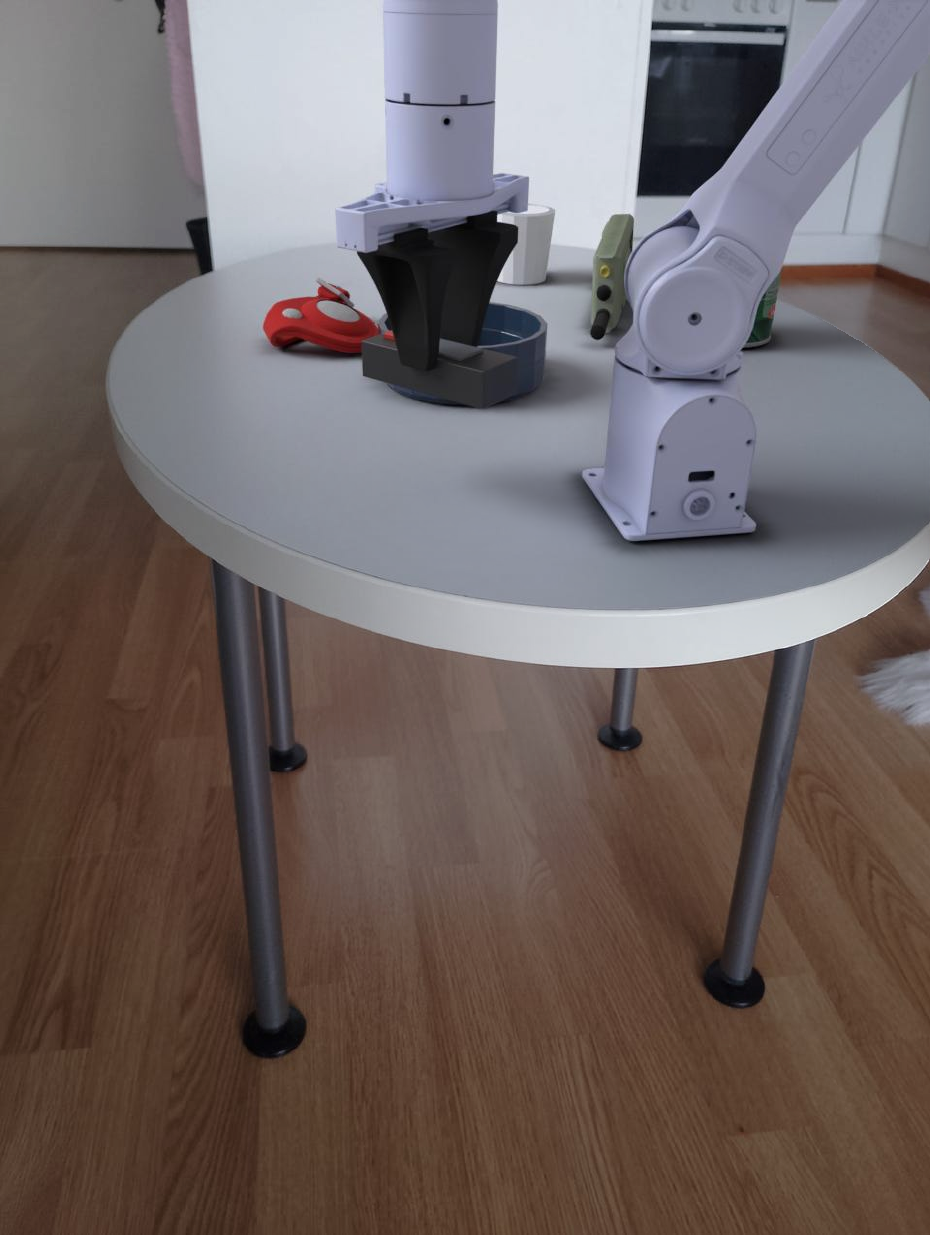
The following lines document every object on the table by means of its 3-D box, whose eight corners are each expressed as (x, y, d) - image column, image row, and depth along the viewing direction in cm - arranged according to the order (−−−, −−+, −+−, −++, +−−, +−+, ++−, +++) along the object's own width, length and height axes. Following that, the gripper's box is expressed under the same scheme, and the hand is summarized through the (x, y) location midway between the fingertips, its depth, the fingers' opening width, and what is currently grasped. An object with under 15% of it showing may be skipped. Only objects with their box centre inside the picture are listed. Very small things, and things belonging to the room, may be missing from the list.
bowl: (562, 403, 80) (566, 344, 77) (391, 411, 77) (390, 351, 75) (522, 350, 90) (524, 297, 88) (371, 356, 88) (370, 302, 86)
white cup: (479, 282, 110) (481, 212, 106) (496, 268, 115) (499, 200, 112) (543, 288, 108) (547, 217, 105) (558, 273, 114) (562, 205, 110)
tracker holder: (401, 337, 89) (291, 323, 84) (386, 383, 92) (278, 372, 86) (352, 272, 97) (248, 255, 91) (339, 316, 99) (237, 302, 94)
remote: (517, 393, 61) (519, 351, 60) (483, 410, 59) (484, 366, 58) (398, 362, 66) (397, 322, 64) (362, 376, 63) (360, 335, 62)
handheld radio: (634, 279, 112) (617, 348, 91) (603, 279, 113) (579, 347, 92) (638, 213, 109) (621, 269, 88) (606, 213, 109) (581, 268, 88)
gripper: (462, 86, 61) (459, 318, 69) (284, 104, 51) (302, 375, 59) (564, 95, 58) (550, 339, 65) (395, 117, 48) (400, 403, 55)
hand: (439, 358), depth 62 cm, fingers closed on remote, 3 cm apart
